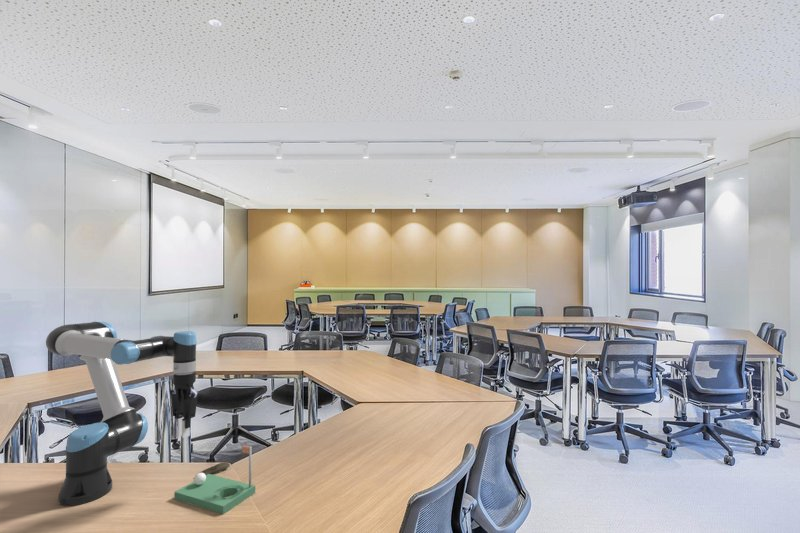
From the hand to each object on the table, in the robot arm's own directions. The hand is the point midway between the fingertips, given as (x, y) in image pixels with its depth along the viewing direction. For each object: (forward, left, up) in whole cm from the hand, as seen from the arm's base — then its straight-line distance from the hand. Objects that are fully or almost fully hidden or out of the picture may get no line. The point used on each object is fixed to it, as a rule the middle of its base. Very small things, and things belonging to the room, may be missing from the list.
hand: (183, 436), depth 144 cm
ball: (+9, 0, -14) cm, 17 cm away
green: (+17, 0, -18) cm, 25 cm away
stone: (+1, +13, -19) cm, 23 cm away
